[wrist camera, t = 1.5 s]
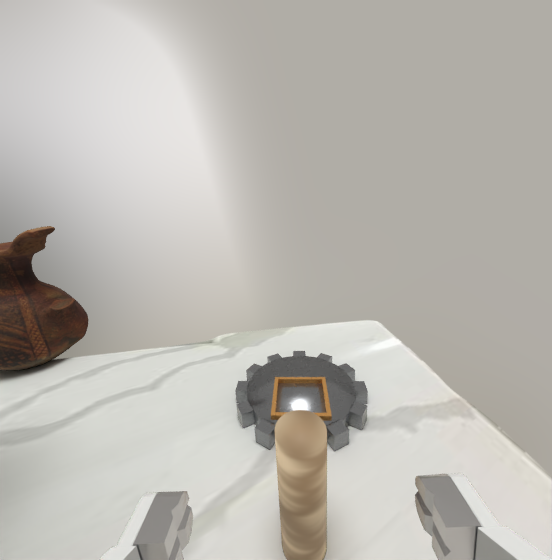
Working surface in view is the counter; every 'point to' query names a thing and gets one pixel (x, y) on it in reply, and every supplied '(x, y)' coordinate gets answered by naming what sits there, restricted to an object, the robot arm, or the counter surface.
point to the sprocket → (302, 396)
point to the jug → (33, 308)
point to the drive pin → (302, 484)
